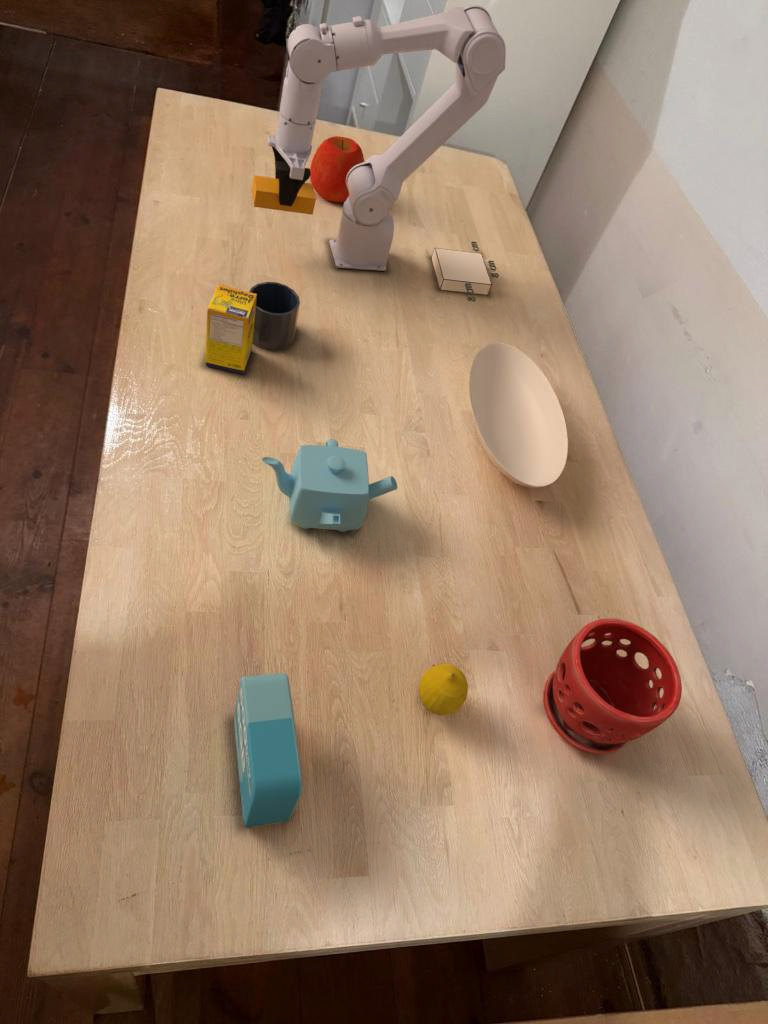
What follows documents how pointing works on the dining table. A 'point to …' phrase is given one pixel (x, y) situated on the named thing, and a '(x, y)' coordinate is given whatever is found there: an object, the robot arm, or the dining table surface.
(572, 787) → the dining table surface
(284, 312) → the cup
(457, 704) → the fruit
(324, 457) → the teapot
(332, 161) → the apple
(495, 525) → the dining table surface
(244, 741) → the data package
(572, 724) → the flower pot
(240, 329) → the supplement box
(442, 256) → the container
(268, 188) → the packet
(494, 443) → the bowl
